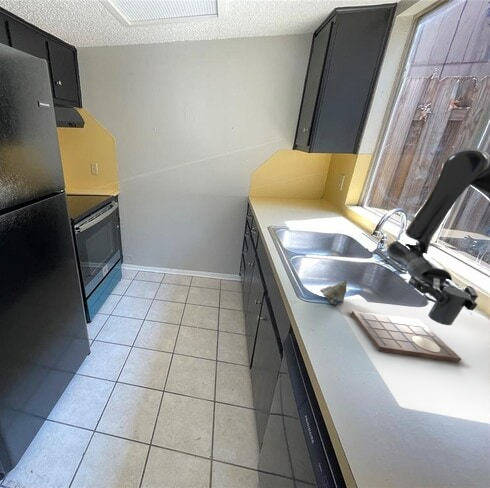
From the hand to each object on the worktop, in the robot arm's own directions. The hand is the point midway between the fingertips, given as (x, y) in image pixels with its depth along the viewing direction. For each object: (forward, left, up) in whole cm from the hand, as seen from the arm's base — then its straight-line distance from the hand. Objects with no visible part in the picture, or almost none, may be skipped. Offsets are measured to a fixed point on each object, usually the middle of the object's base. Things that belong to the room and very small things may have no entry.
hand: (458, 304), depth 65 cm
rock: (+18, -21, -17) cm, 33 cm away
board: (+4, -6, -17) cm, 19 cm away
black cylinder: (-1, -3, -7) cm, 7 cm away
